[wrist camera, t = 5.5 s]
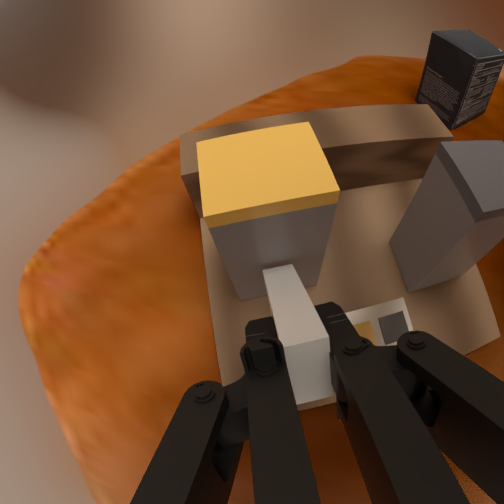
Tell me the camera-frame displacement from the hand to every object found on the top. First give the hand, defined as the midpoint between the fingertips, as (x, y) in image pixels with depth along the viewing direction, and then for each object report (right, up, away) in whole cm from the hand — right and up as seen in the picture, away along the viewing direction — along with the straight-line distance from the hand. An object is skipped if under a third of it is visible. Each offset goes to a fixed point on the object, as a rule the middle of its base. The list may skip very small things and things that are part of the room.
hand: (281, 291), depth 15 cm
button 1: (+11, +2, +4) cm, 12 cm away
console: (+5, +1, +6) cm, 8 cm away
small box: (+24, +21, +14) cm, 35 cm away
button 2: (0, +1, +5) cm, 5 cm away
